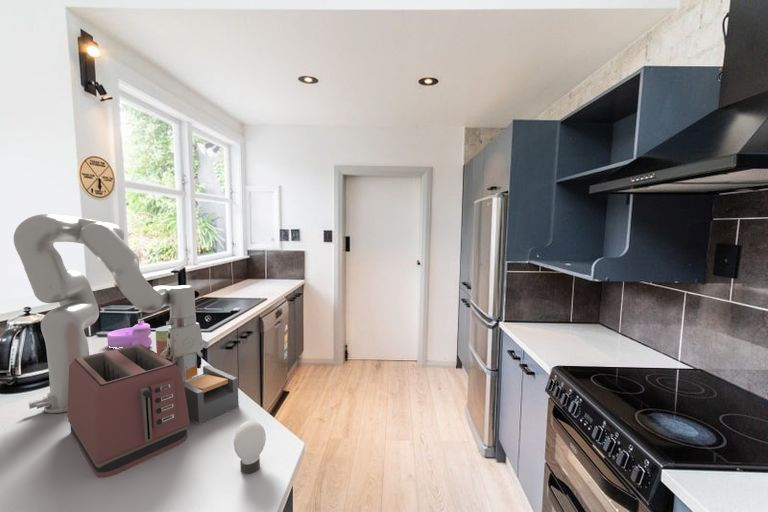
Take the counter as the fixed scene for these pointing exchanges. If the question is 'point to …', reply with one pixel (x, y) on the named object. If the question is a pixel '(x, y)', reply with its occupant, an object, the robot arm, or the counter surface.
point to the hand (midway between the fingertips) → (186, 370)
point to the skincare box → (188, 365)
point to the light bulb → (249, 445)
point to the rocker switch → (206, 382)
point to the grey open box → (211, 397)
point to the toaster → (125, 407)
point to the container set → (130, 336)
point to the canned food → (162, 339)
